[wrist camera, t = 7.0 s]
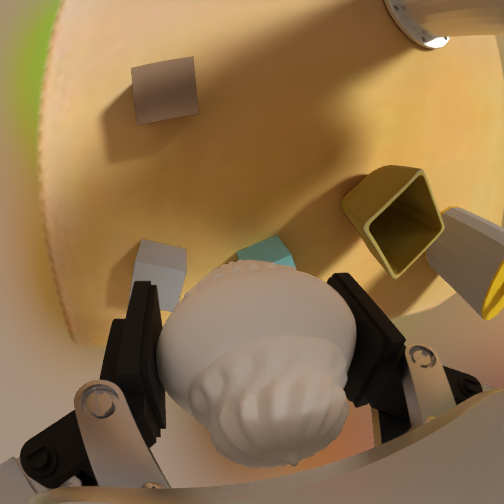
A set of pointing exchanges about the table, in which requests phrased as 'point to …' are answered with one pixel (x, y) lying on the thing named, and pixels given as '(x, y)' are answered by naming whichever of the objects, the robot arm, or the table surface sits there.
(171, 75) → the walnut cube
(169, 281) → the grey cube
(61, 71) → the table surface
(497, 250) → the soap bottle
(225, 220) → the table surface
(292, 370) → the muffin
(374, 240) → the flower pot
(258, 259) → the teal cube
